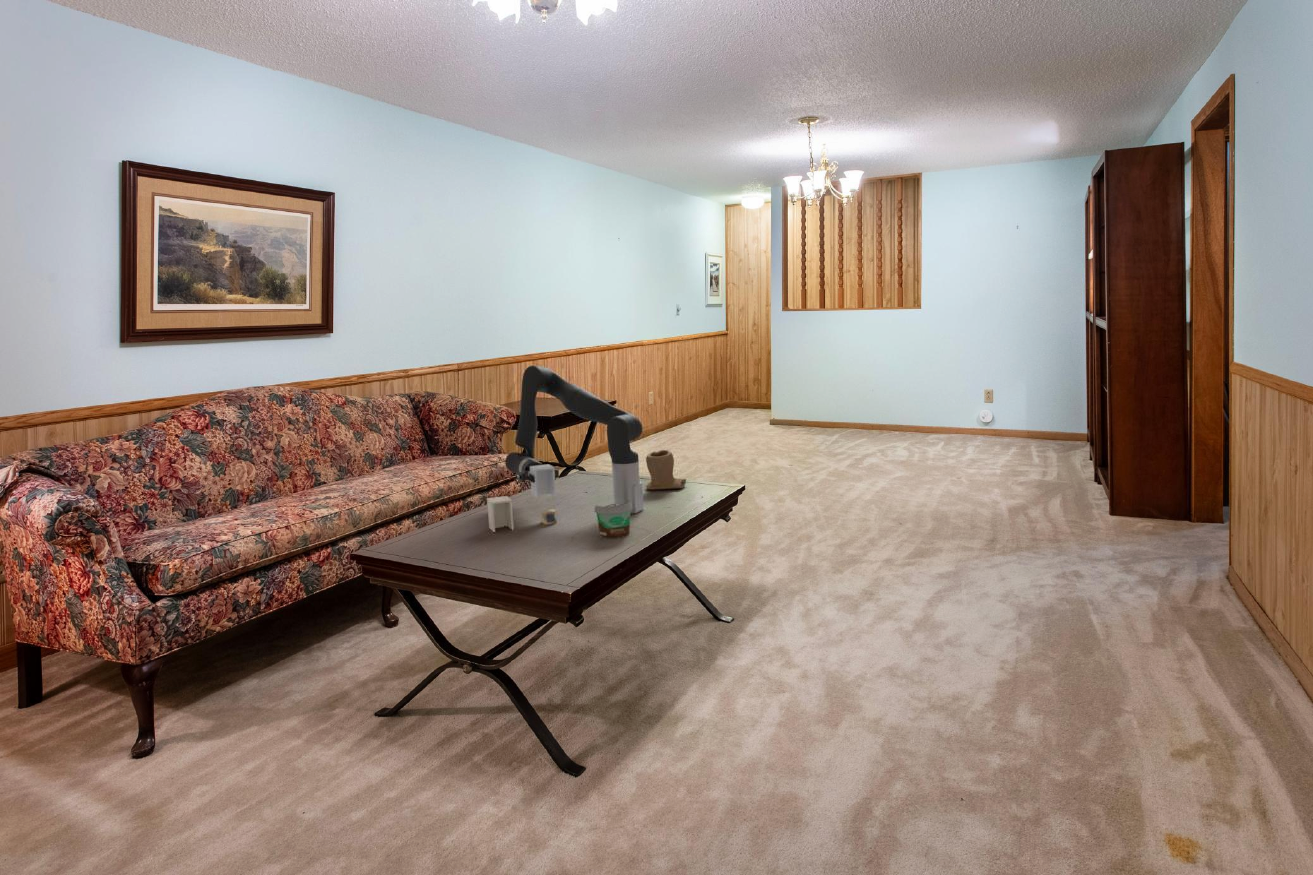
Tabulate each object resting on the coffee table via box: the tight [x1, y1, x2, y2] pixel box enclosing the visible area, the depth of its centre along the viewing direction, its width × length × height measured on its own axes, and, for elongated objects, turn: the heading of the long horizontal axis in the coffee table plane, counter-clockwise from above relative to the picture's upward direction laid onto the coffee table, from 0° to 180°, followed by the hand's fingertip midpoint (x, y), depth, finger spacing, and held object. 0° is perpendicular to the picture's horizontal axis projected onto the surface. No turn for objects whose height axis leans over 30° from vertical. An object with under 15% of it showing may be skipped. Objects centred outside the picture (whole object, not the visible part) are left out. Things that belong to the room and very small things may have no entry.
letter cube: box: [540, 508, 558, 525], centre depth 281 cm, size 4×4×4 cm
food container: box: [594, 500, 632, 539], centre depth 259 cm, size 12×6×10 cm, turn 117°
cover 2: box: [530, 463, 557, 500], centre depth 283 cm, size 7×7×10 cm
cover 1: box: [486, 495, 515, 533], centre depth 275 cm, size 7×7×10 cm
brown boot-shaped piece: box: [645, 449, 687, 490], centre depth 324 cm, size 15×12×15 cm
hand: (544, 478), depth 281 cm, fingers closed on cover 2, 6 cm apart
